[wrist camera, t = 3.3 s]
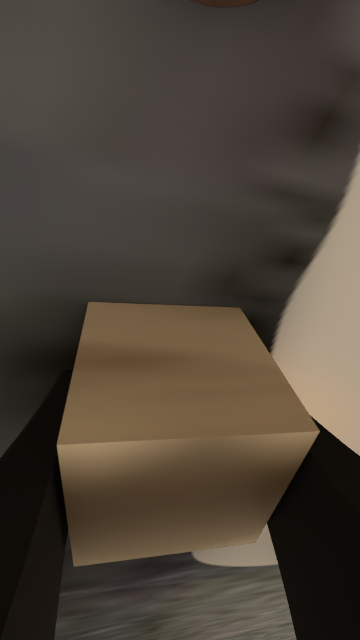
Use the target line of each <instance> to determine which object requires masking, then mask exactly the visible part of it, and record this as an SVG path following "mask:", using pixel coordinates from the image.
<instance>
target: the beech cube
mask: <svg viewBox="0 0 360 640" xmlns="http://www.w3.org/2000/svg"><path fill="white" fill-rule="evenodd" d="M319 432H320V431H319V429H318V428H317V426H316V424H315V423H314V421H313V420H312V418H311V417H310V415H309V414H308V412H307V411H306V409H305V407H304V406H303V404H302V403H301V401H300V400H299V398H298V397H297V395H296V394H295V392H294V390H293V389H292V387H291V386H290V384H289V383H288V381H287V380H286V378H285V377H284V375H283V373H282V372H281V370H280V369H279V367H278V366H277V364H276V363H275V361H274V359H273V358H272V356H271V355H270V353H269V352H268V350H267V349H266V347H265V346H264V344H263V342H262V341H261V339H260V338H259V336H258V335H257V333H256V332H255V330H254V329H253V327H252V325H251V324H250V322H249V321H248V319H247V318H246V316H245V315H244V313H243V312H242V310H241V308H234V307H208V306H183V305H158V304H133V303H107V302H88V306H87V311H86V315H85V320H84V324H83V329H82V333H81V338H80V342H79V347H78V351H77V356H76V360H75V365H74V369H73V374H72V378H71V383H70V387H69V392H68V396H67V401H66V405H65V410H64V414H63V419H62V423H61V428H60V432H59V437H58V441H57V451H58V458H59V465H60V472H61V479H62V486H63V493H64V501H65V508H66V515H67V522H68V529H69V536H70V543H71V550H72V557H73V564H74V567H76V566H83V565H91V564H99V563H106V562H114V561H122V560H129V559H137V558H144V557H152V556H160V555H167V554H175V553H183V552H190V551H198V550H205V549H213V548H221V547H228V546H235V545H244V544H250V543H255V542H256V540H257V539H258V537H259V535H260V534H261V532H262V530H263V528H264V527H265V525H266V523H267V522H268V520H269V518H270V516H271V515H272V513H273V511H274V509H275V508H276V506H277V504H278V503H279V501H280V499H281V497H282V496H283V494H284V492H285V491H286V489H287V487H288V485H289V484H290V482H291V480H292V479H293V477H294V475H295V473H296V472H297V470H298V468H299V467H300V465H301V463H302V461H303V460H304V458H305V456H306V454H307V453H308V451H309V449H310V448H311V446H312V444H313V442H314V441H315V439H316V437H317V436H318V434H319Z"/></svg>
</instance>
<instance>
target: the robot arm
mask: <svg viewBox="0 0 360 640" xmlns="http://www.w3.org/2000/svg"><path fill="white" fill-rule="evenodd" d="M72 374H73V370H64V371H63V372H62V373H61V374H60V376H59V378H58V379H57V381H56V383H55V384H54V386H53V388H52V389H51V391H50V392H49V394H48V395H47V397H46V398H45V400H44V401H43V403H42V404H41V406H40V407H39V408H38V410H37V411H36V413H35V414H34V415H33V417H32V418H31V419H30V421H29V422H28V424H27V425H26V426H25V428H24V429H23V430H22V432H21V433H20V434H19V436H18V437H17V438H16V439H15V440H14V442H13V443H12V444H11V445H10V447H9V448H8V449H7V450H6V452H5V453H4V454H3V455H2V457H1V458H0V640H54V636H55V627H56V619H57V610H58V602H59V593H60V585H61V577H62V569H63V561H64V553H65V545H66V540H67V534H68V522H67V515H66V508H65V501H64V493H63V486H62V479H61V472H60V465H59V458H58V451H57V441H58V437H59V432H60V428H61V423H62V419H63V414H64V410H65V405H66V401H67V396H68V392H69V387H70V383H71V378H72ZM310 417H311V416H310ZM311 418H312V420H313V421H314V423H315V424H316V426H317V428H318V429H319V431H320V432H319V434H318V436H317V437H316V439H315V441H314V442H313V444H312V446H311V448H310V449H309V451H308V453H307V454H306V456H305V458H304V460H303V461H302V463H301V465H300V467H299V468H298V470H297V472H296V473H295V475H294V477H293V479H292V480H291V482H290V484H289V485H288V487H287V489H286V491H285V492H284V494H283V496H282V497H281V499H280V501H279V503H278V504H277V506H276V508H275V509H274V511H273V513H272V515H271V516H270V518H269V520H268V522H267V525H268V528H269V532H270V535H271V539H272V543H273V546H274V550H275V553H276V557H277V561H278V565H279V569H280V573H281V576H282V580H283V584H284V588H285V592H286V596H287V600H288V604H289V608H290V613H291V617H292V621H293V626H294V630H295V634H296V638H297V640H360V456H359V455H358V454H356V453H355V452H354V451H352V450H351V449H350V448H348V447H347V446H346V445H345V444H343V443H342V442H341V441H340V440H339V439H337V438H336V437H335V436H334V435H333V434H331V433H330V432H329V431H328V430H326V429H325V428H324V427H323V426H322V425H321V424H319V423H318V422H317V421H316V420H315V419H314V418H313V417H311Z"/></svg>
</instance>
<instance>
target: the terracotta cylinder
mask: <svg viewBox="0 0 360 640" xmlns="http://www.w3.org/2000/svg"><path fill="white" fill-rule="evenodd" d="M192 1H195V2H198V3H201V4H204V5H208V6H215V7H238V6H242V5H246V4H251V3H253V2H256V1H258V0H192Z"/></svg>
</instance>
